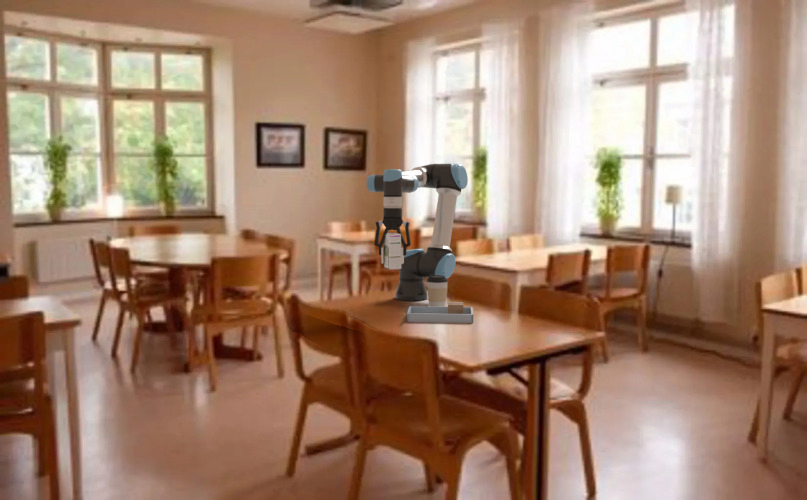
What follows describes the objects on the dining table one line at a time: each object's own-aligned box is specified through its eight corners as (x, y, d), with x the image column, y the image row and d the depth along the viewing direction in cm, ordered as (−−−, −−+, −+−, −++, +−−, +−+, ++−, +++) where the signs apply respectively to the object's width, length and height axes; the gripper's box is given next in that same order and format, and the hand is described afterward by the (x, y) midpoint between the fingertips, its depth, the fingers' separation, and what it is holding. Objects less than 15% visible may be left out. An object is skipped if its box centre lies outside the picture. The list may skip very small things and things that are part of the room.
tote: (409, 315, 278) (409, 305, 277) (472, 316, 275) (472, 307, 275) (406, 323, 262) (406, 313, 261) (473, 325, 260) (473, 314, 259)
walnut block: (448, 316, 271) (448, 301, 271) (463, 317, 271) (463, 302, 270) (447, 319, 265) (448, 304, 265) (463, 320, 265) (463, 304, 264)
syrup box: (401, 268, 277) (402, 233, 275) (388, 269, 274) (388, 233, 273) (396, 267, 282) (396, 232, 281) (383, 268, 280) (383, 232, 278)
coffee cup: (448, 308, 294) (448, 274, 292) (447, 312, 285) (447, 276, 283) (427, 307, 295) (427, 273, 293) (425, 311, 286) (426, 276, 284)
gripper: (366, 207, 273) (366, 263, 275) (416, 207, 271) (416, 264, 273) (369, 206, 281) (369, 261, 283) (418, 207, 278) (418, 262, 281)
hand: (392, 263), depth 278 cm, fingers closed on syrup box, 7 cm apart
